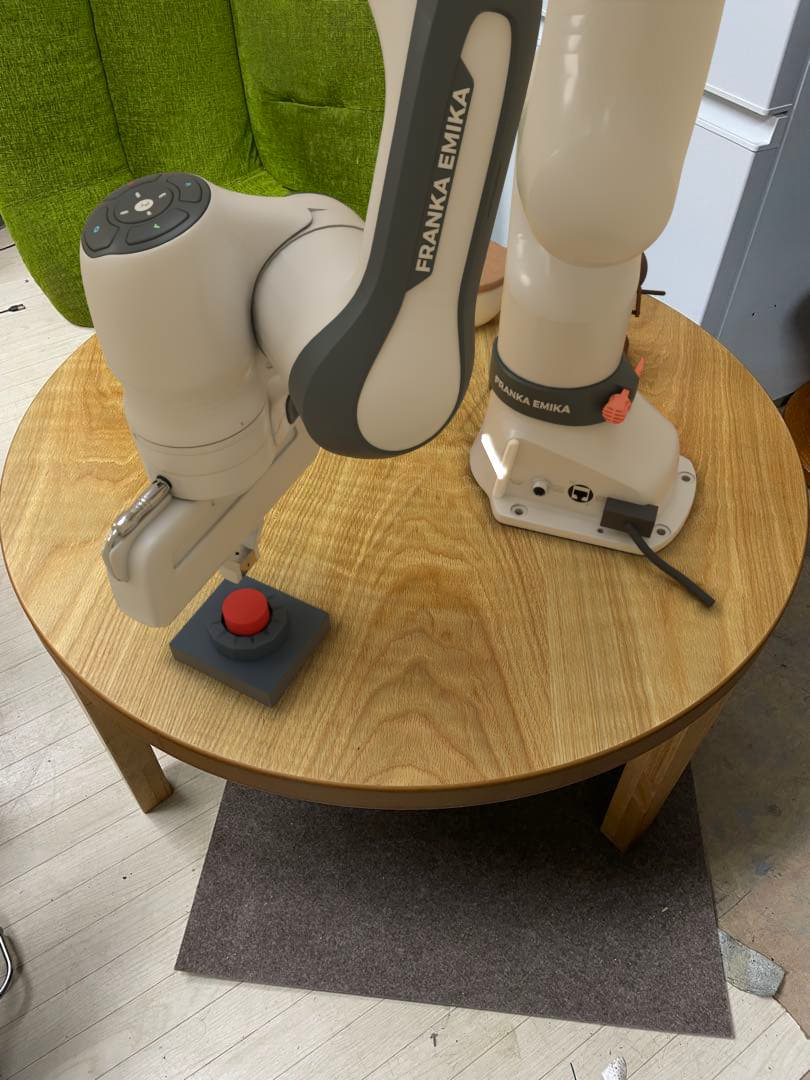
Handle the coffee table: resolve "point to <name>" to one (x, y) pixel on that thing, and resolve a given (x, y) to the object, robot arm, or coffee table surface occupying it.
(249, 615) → the button
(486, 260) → the trinket box
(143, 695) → the coffee table surface
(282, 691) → the button block
